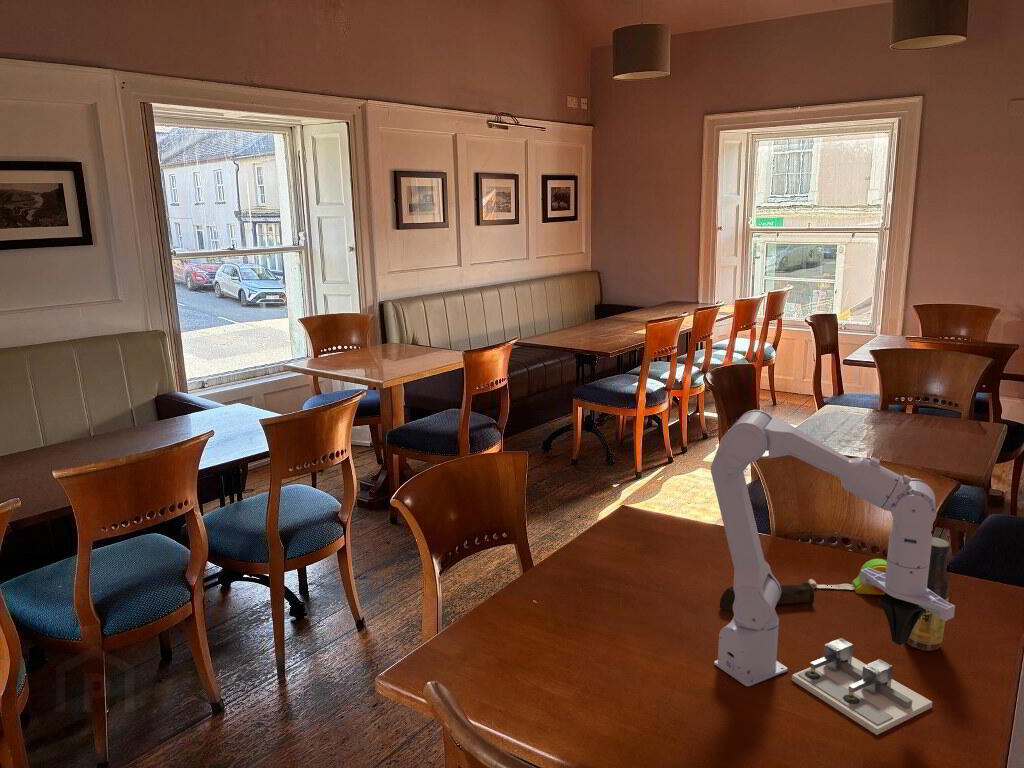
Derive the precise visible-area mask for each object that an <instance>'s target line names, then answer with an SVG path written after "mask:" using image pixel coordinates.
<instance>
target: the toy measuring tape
mask: <svg viewBox="0 0 1024 768" xmlns="http://www.w3.org/2000/svg"><path fill="white" fill-rule="evenodd" d="M886 566H887V560H885V559H883V558H873V559H870V560H868V561H866V562H865V563H864V564H863V565H862V566H861V568H860V570H863V569H866V568H871V569H873V570H876V571H879V572H883V573H886ZM859 580H860V573H858V576H857V577H856V578H854V579H853V580H852V582H851V584H850V583H841V584H817V582H816V581H815V580H814V579H813V578H809V579H808V580H807V583H810V585H811V586H812V587H813V589H814V590H815V589H830V590H831V589H832V590H833V589H834V590H848V591H854V592H855V594H859V595H863V594H864V595H876V596H877V595H880V596H884V594H885V592H884V591H883V590H882V589H880V588H878V587H876V586H874V585H872V584H869V583H862V582H860V581H859ZM827 585H828V586H827ZM831 586H832V587H831Z"/></svg>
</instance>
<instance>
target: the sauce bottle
mask: <svg viewBox="0 0 1024 768" xmlns="http://www.w3.org/2000/svg"><path fill="white" fill-rule="evenodd" d="M950 546H951V545H950V543H949V541H948V540H945V539H942V538H940V537H935V536H932V545H931V554H930V563H929V572H928V582H927V588H928V589H929V590H931V591H932V592H934V593H935V594H936V595H938V596H939V597H941V598H942V599H944V600H945V601H947V602H948V603H949V599H950V588H951V577H950V575H949V574H948V572H947V568H946V567H947V557H948V553H949V552H950ZM945 625H946V621H945V620H942V619H940V618H939V615H937V614H935V613H932V612H930V611H928V610H926V611H925V612H924V613H923V614H922V615H921V617H920V618H919V619H918V621H917V622H916V624H915V626H914V628H913V630H912V632H911V635H910V637H909V640H908V642H906V643H905V644H907V645H909V647H912V648H914V649H917V650H920V651H923V652H929V651H931V652H932V651H937V650H939V649H940V647H941V645H942V641H943V638H944V631H945Z"/></svg>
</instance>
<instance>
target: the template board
mask: <svg viewBox="0 0 1024 768" xmlns="http://www.w3.org/2000/svg"><path fill="white" fill-rule="evenodd" d="M864 665H867V664H866V663H864V662H863V661H861V660H859V659H857V658H856V657H854V656H852V664H849V663H847V662H845V661H842V662H840V667H839V670H837V671H834V670H832V669H830V668H829V667H827V666H825V665H823V666H821V667H818V668H816V669H815V674H811V673H810V671H811V667H810V666H809V667H808V668H805V669H803V670H800V671H798V672H795V673H794V674H792V675H791V681H792V682H794V683H795V684H796V685H799V686H800V687H802V688H803V689H805V690H806V691H807V692H809V693H811V694H813V695H814V696H816V697H817V698H819V699H820V700H822V701H823V702H825V703H826V704H828V705H829V706H831V707H833V708H834V709H835V710H837V711H839V712H840V713H842V714H843V715H845V716H846V717H848V718H850V719H851V720H853V721H854V722H856V723H857V724H859V725H861V726H862V727H864V728H865V729H867V730H868V731H869V732H871V733H872V734H875V735H876V736H878V735H879V734H881V733H884V732H886V731H888V730H890V729H892V728H894V727H896V726H898V725H900V724H902V723H904V722H905V721H908V720H910V719H912V718H914V717H915V716H918V715H919V714H922V713H924V712H926V711H928V710H930V709H932V707H933V701H932V700H930V699H928V698H926V697H925V696H923V695H922V694H920V693H917V692H916V691H914V690H912V689H910V688H909V687H907V686H905V685H903V684H901V683H900V682H898V681H896V680H894V679H893V678H892V680H891V687H889V686H887V685H885V684H884V683H883V684H881V685H879V693H877V694H875V695H874V694H872V693H871V692H869V691H867V690H866V689H864V688H862V689H860V690H858V691H856V692H854V695H853V698H849V690H848V688H849V685H851V684H853V683H856V682H858V681H860V680H862V672H863V666H864Z"/></svg>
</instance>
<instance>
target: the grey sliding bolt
mask: <svg viewBox="0 0 1024 768" xmlns="http://www.w3.org/2000/svg"><path fill="white" fill-rule="evenodd" d="M892 679H893V665H891V664H890V663H888V662H886V661H885V660H882V659H880V658H878V659H876V660H874V661H872V662H869V663H867V664H866V665H864V666H863V672H862V680H860V681H858V682H856V683H853V684H851V685H849V688H848V690H849V698H853V695H854V692H856V691H858V690H860V689H862V688H864V689H866V690H867V691H869V692H871V693H872V694H874V695H875V694H877V693H879V685H881V684H883V683H884V684H885V685H887V686H889V687H891V680H892Z"/></svg>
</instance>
